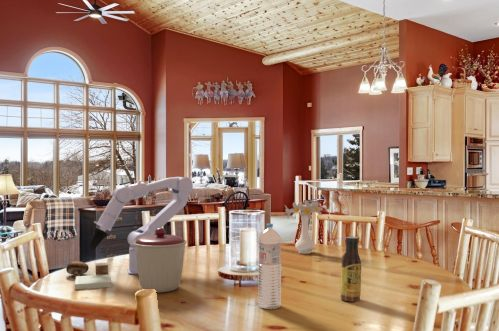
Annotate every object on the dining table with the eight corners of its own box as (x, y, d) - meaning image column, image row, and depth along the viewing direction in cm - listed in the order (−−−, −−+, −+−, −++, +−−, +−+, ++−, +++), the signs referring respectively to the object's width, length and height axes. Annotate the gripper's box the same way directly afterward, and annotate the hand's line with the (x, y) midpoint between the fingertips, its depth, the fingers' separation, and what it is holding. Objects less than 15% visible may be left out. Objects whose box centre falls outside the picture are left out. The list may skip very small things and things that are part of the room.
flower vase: (282, 250, 238) (282, 199, 237) (319, 250, 239) (319, 199, 239) (287, 255, 225) (287, 202, 224) (325, 255, 226) (326, 201, 226)
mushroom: (79, 271, 179) (79, 255, 182) (61, 278, 180) (61, 262, 184) (92, 277, 185) (92, 262, 189) (75, 283, 187) (75, 269, 190)
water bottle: (257, 303, 149) (257, 222, 149) (279, 302, 150) (279, 222, 149) (259, 310, 142) (259, 225, 142) (282, 309, 143) (282, 225, 143)
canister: (193, 284, 173) (193, 225, 173) (176, 297, 155) (175, 232, 155) (146, 281, 176) (146, 223, 176) (123, 294, 159) (123, 230, 159)
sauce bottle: (347, 303, 149) (348, 239, 149) (336, 298, 155) (336, 236, 155) (365, 301, 152) (365, 238, 151) (353, 296, 157) (353, 235, 157)
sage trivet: (110, 278, 180) (110, 274, 180) (111, 286, 169) (111, 281, 169) (76, 281, 176) (76, 276, 176) (74, 289, 165) (74, 284, 165)
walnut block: (107, 275, 186) (107, 262, 186) (108, 278, 181) (108, 265, 181) (95, 276, 184) (95, 263, 184) (95, 279, 180) (95, 265, 180)
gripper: (99, 211, 192) (82, 241, 188) (101, 210, 178) (82, 243, 175) (116, 219, 194) (98, 250, 190) (118, 219, 180) (99, 252, 176)
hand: (91, 247), depth 183 cm, fingers open, 7 cm apart
